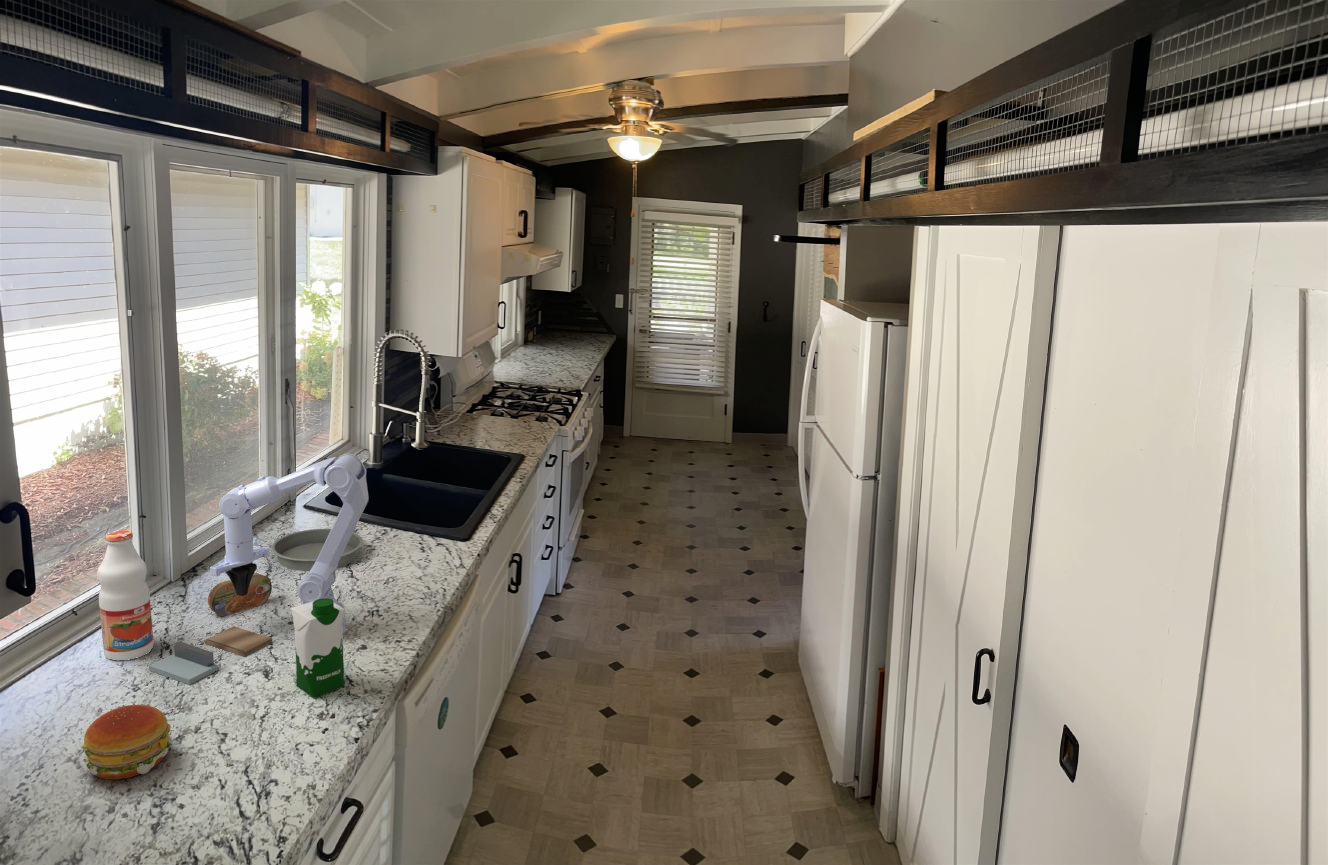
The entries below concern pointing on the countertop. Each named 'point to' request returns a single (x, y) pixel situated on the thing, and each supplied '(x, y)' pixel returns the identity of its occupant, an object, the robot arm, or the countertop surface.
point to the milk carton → (319, 646)
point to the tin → (229, 602)
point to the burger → (126, 742)
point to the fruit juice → (124, 599)
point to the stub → (186, 664)
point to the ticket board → (238, 641)
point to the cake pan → (310, 549)
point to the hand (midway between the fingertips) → (241, 594)
